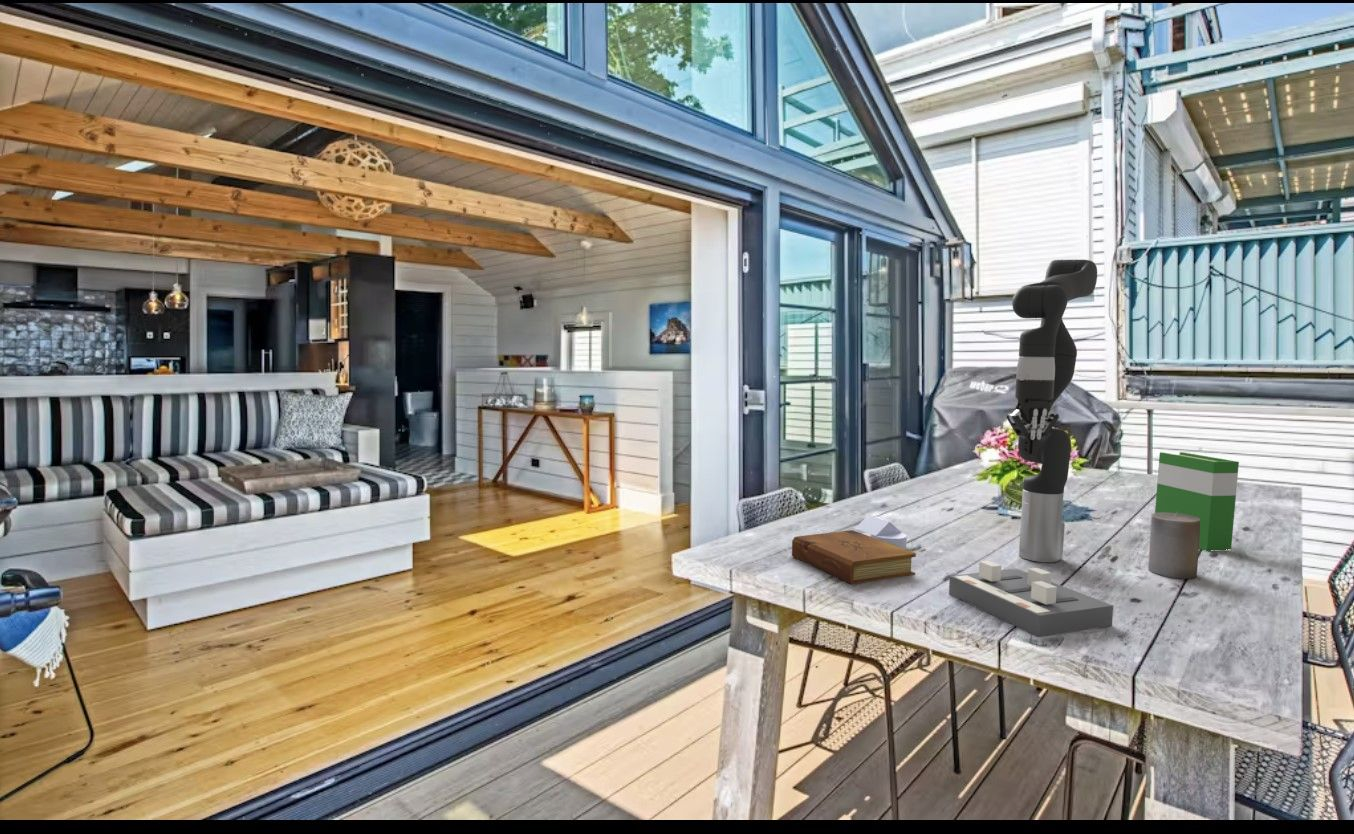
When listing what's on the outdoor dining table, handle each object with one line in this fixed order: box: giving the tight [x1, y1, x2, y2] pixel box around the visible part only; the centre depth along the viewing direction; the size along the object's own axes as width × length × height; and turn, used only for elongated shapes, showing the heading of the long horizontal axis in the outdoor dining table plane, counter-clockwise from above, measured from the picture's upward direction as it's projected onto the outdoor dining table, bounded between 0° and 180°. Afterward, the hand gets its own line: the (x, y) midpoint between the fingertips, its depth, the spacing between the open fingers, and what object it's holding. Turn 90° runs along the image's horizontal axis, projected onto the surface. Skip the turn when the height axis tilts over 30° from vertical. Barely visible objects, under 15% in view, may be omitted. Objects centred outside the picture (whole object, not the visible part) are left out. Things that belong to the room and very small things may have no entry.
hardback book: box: [1154, 451, 1240, 552], centre depth 199 cm, size 18×7×24 cm, turn 9°
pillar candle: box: [1147, 511, 1200, 580], centre depth 171 cm, size 10×10×15 cm
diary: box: [791, 529, 917, 585], centre depth 173 cm, size 23×19×6 cm
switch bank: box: [948, 568, 1114, 638], centre depth 145 cm, size 18×24×4 cm
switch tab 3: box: [1031, 581, 1057, 604], centre depth 137 cm, size 2×4×3 cm, turn 19°
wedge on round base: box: [854, 514, 908, 550], centre depth 193 cm, size 9×7×13 cm
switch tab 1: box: [978, 560, 1002, 582], centre depth 151 cm, size 2×4×3 cm, turn 19°
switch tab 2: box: [1027, 567, 1052, 586], centre depth 146 cm, size 2×4×3 cm, turn 19°
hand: (1030, 456), depth 159 cm, fingers closed
